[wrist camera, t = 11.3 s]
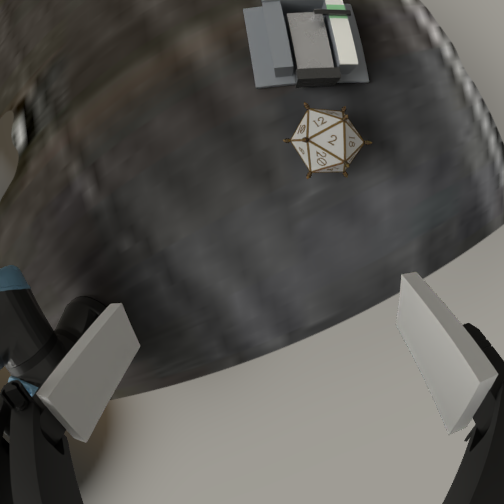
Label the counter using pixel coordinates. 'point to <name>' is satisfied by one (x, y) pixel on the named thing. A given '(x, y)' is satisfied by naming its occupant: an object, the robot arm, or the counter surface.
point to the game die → (326, 140)
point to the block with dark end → (312, 48)
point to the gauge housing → (279, 46)
